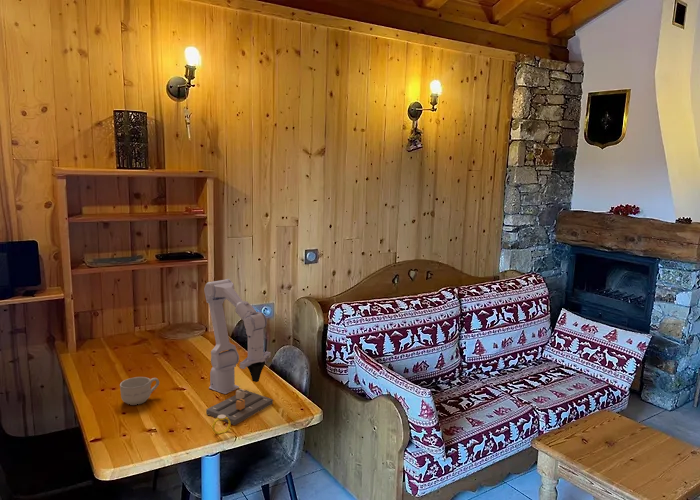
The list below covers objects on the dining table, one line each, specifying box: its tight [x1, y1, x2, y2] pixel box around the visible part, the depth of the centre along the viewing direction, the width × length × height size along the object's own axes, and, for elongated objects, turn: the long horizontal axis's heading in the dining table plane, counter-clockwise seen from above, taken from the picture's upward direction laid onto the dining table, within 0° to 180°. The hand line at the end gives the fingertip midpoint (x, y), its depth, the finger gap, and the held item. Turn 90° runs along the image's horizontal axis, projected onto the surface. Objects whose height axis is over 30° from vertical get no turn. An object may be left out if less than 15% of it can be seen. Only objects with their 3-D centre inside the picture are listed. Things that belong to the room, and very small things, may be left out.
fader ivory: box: [235, 388, 245, 399], centre depth 196 cm, size 2×2×3 cm
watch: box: [211, 415, 232, 435], centre depth 175 cm, size 6×3×6 cm, turn 122°
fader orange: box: [236, 399, 245, 410], centre depth 188 cm, size 2×2×3 cm
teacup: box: [119, 376, 160, 406], centre depth 196 cm, size 14×11×8 cm
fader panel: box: [205, 389, 274, 426], centre depth 192 cm, size 14×20×2 cm
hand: (255, 381), depth 193 cm, fingers closed
